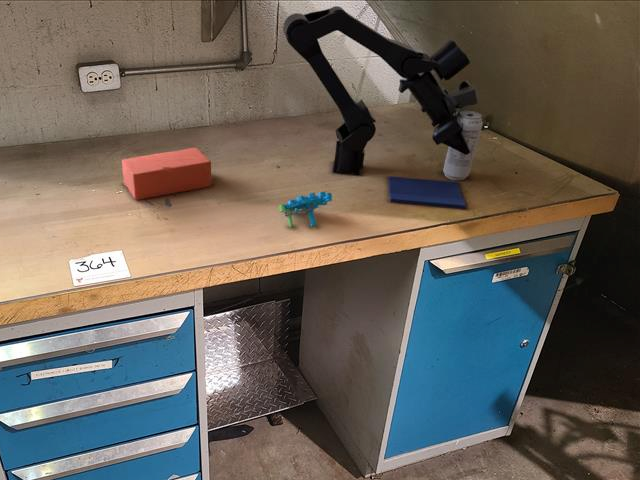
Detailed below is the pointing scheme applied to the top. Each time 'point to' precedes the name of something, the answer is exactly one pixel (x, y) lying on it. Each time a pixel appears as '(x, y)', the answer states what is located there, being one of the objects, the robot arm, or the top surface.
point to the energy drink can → (460, 163)
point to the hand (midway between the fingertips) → (468, 148)
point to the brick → (166, 173)
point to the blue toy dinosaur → (305, 206)
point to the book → (426, 192)
